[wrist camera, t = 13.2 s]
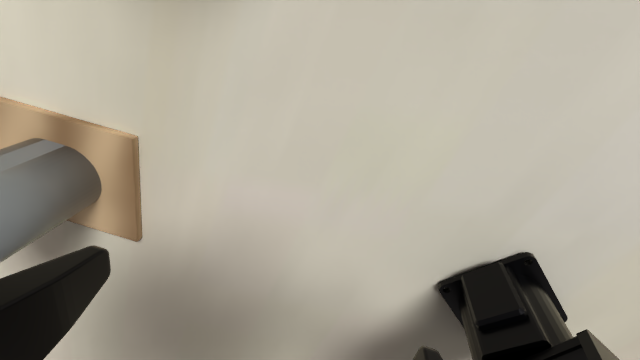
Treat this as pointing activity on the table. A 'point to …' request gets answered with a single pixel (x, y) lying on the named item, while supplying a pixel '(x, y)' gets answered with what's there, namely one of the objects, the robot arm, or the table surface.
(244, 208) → the table surface
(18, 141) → the cork pad
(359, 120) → the table surface
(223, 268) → the table surface
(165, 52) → the table surface
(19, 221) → the grey tall rounded piece
